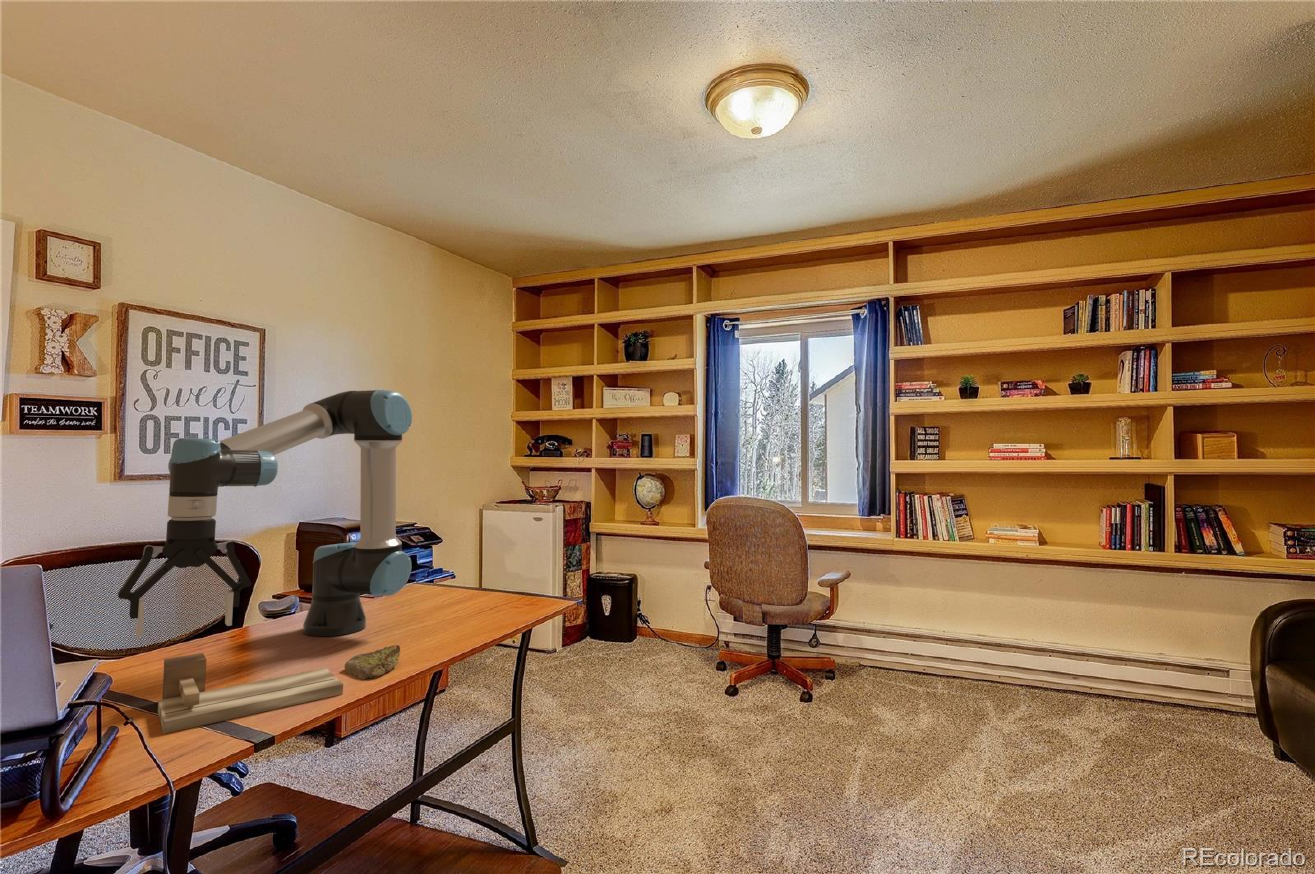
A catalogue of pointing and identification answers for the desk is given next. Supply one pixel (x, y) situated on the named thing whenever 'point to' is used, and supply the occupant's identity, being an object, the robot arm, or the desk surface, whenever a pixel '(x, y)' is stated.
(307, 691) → the board
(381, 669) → the rock
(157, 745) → the desk surface
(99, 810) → the desk surface
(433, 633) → the desk surface
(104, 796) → the desk surface
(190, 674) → the brown blocky t-shaped piece
